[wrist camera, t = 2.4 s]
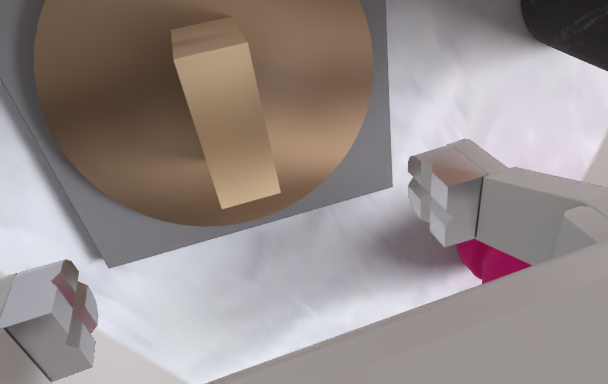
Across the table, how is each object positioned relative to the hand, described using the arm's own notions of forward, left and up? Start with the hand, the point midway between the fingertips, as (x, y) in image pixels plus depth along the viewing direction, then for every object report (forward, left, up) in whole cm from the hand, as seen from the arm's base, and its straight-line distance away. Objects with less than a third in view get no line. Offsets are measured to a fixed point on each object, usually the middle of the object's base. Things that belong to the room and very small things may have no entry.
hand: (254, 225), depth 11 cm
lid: (-1, 0, -11) cm, 11 cm away
